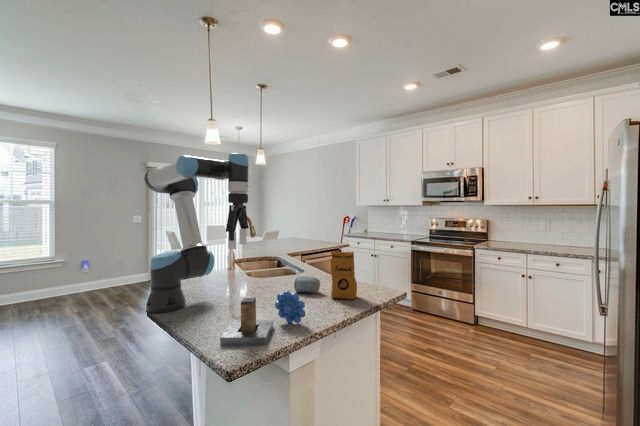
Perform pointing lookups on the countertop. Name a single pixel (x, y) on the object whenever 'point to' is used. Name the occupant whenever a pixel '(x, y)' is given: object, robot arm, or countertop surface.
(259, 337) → the gray square hole plate
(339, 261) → the coffee package
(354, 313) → the countertop surface
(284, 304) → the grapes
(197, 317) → the countertop surface
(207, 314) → the countertop surface
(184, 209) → the robot arm
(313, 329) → the countertop surface
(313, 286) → the spool
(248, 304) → the wooden block
